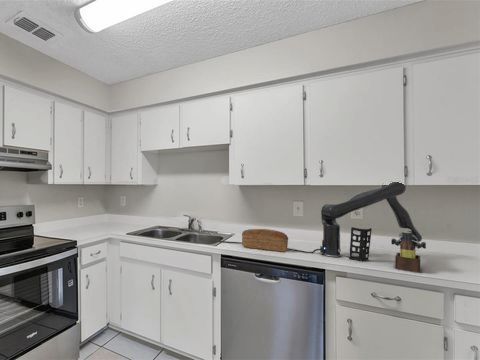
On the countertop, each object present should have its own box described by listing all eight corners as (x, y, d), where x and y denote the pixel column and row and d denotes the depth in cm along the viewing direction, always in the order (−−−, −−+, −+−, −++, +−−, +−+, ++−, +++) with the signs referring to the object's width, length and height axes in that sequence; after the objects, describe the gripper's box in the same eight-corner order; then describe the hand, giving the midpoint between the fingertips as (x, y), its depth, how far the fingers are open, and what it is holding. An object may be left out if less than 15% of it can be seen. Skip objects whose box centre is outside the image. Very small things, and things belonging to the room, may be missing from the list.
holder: (363, 257, 165) (365, 226, 163) (373, 262, 158) (376, 229, 156) (346, 257, 165) (348, 226, 163) (355, 262, 157) (357, 229, 155)
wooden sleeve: (395, 268, 144) (395, 255, 144) (396, 264, 152) (396, 252, 152) (420, 273, 137) (420, 259, 138) (420, 268, 145) (420, 255, 145)
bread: (243, 244, 200) (243, 226, 200) (288, 249, 185) (288, 230, 185) (240, 247, 189) (240, 228, 190) (287, 253, 175) (287, 232, 175)
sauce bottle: (419, 270, 141) (419, 233, 141) (405, 270, 142) (405, 233, 142) (409, 267, 147) (409, 231, 148) (397, 266, 148) (397, 231, 149)
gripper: (392, 232, 160) (390, 236, 148) (426, 236, 150) (426, 240, 138) (392, 245, 160) (390, 249, 148) (426, 249, 150) (426, 254, 138)
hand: (407, 245), depth 143 cm, fingers open, 8 cm apart
